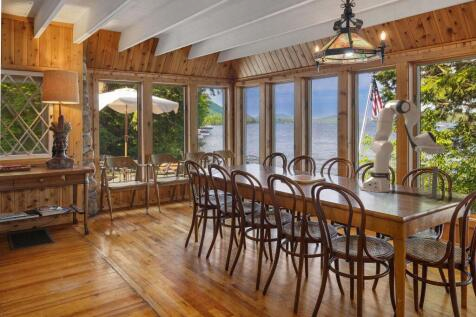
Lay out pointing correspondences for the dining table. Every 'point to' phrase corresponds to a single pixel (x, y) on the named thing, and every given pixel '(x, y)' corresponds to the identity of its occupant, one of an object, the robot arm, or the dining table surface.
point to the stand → (434, 185)
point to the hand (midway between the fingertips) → (429, 150)
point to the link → (428, 185)
